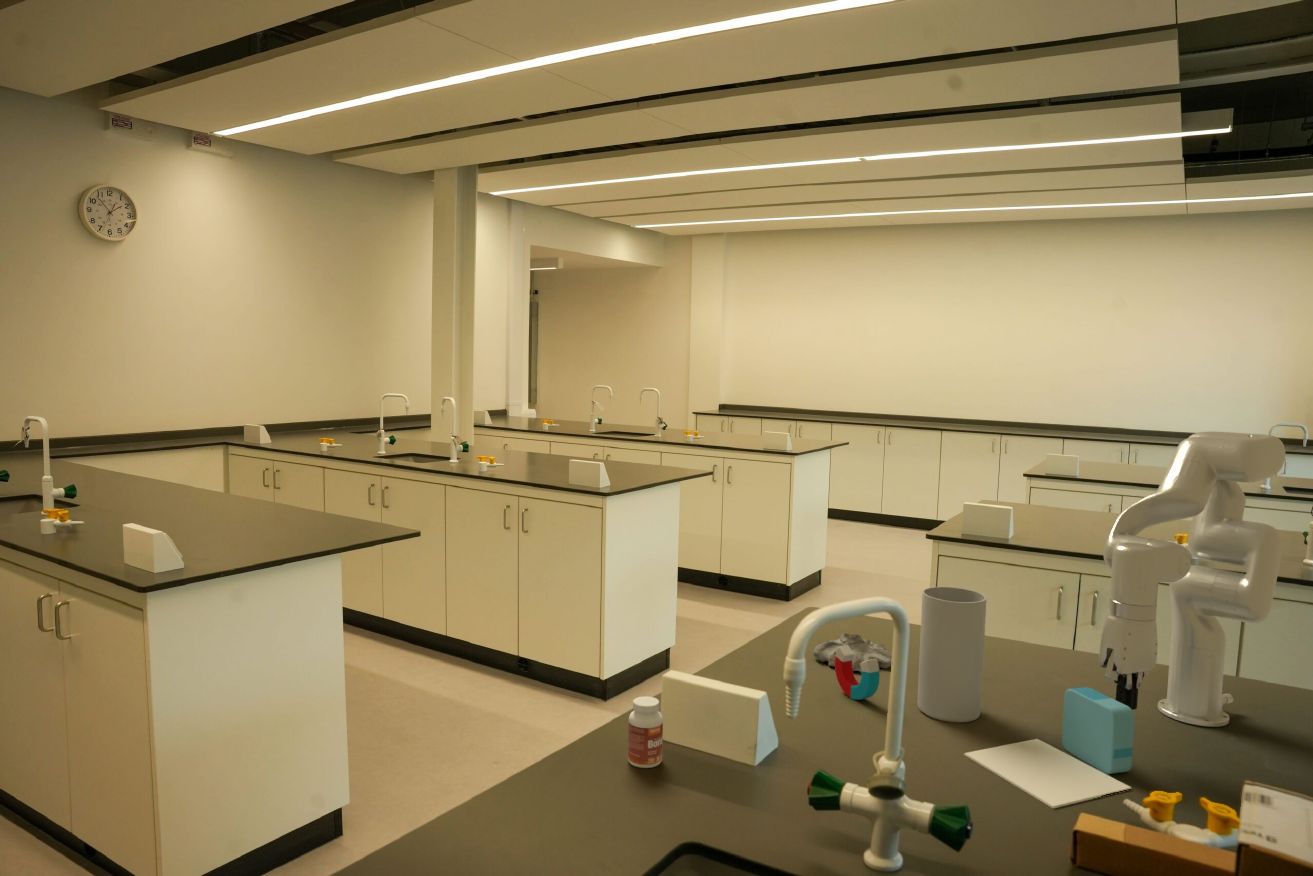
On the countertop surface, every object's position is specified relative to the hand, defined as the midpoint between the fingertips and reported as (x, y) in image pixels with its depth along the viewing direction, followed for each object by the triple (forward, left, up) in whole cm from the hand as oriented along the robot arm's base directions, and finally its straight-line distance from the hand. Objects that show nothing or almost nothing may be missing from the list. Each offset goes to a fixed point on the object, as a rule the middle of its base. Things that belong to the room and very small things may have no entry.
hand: (1126, 707), depth 153 cm
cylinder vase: (+17, -27, -9) cm, 33 cm away
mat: (+20, 0, -9) cm, 22 cm away
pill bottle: (+85, -28, -9) cm, 90 cm away
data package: (+7, 0, -9) cm, 12 cm away
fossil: (+17, -59, -10) cm, 62 cm away
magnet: (+31, -40, -9) cm, 52 cm away
